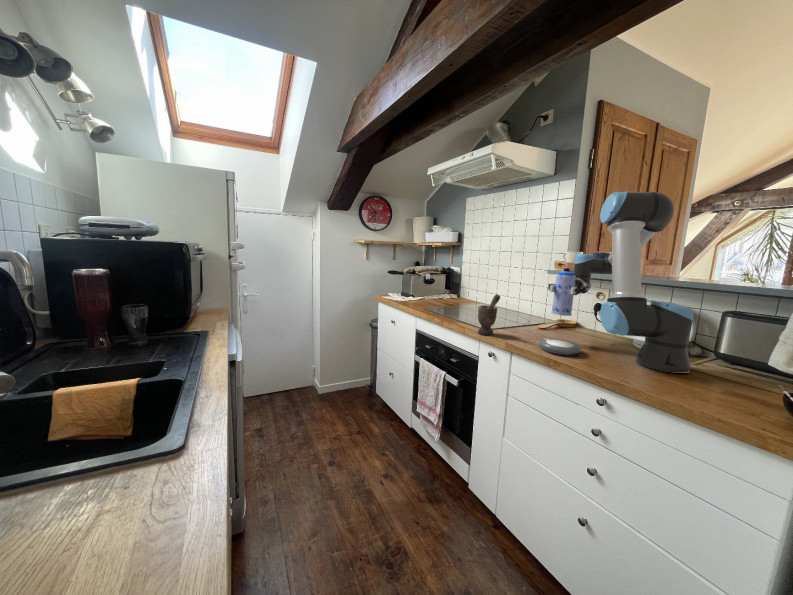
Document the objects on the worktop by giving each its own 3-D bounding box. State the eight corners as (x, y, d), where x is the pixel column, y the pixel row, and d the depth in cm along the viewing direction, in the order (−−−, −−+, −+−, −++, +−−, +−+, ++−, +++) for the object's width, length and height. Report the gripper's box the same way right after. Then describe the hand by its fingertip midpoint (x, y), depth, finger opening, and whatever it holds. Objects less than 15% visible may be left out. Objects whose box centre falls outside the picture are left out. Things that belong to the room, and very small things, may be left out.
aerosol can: (575, 315, 132) (581, 269, 129) (561, 316, 129) (567, 268, 126) (560, 312, 139) (566, 267, 136) (547, 312, 136) (552, 267, 133)
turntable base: (582, 354, 121) (583, 351, 121) (560, 357, 117) (561, 353, 117) (556, 345, 132) (557, 342, 132) (536, 347, 128) (536, 344, 128)
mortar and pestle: (504, 336, 143) (508, 294, 140) (493, 339, 138) (497, 295, 135) (483, 330, 152) (487, 290, 149) (472, 332, 147) (475, 291, 144)
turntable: (589, 351, 120) (590, 347, 120) (561, 354, 115) (562, 350, 115) (556, 340, 134) (557, 337, 134) (530, 343, 128) (531, 339, 128)
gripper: (599, 297, 139) (587, 301, 123) (551, 292, 153) (535, 295, 136) (601, 281, 138) (589, 283, 121) (553, 277, 152) (537, 278, 135)
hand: (561, 289), depth 129 cm, fingers closed on aerosol can, 7 cm apart
